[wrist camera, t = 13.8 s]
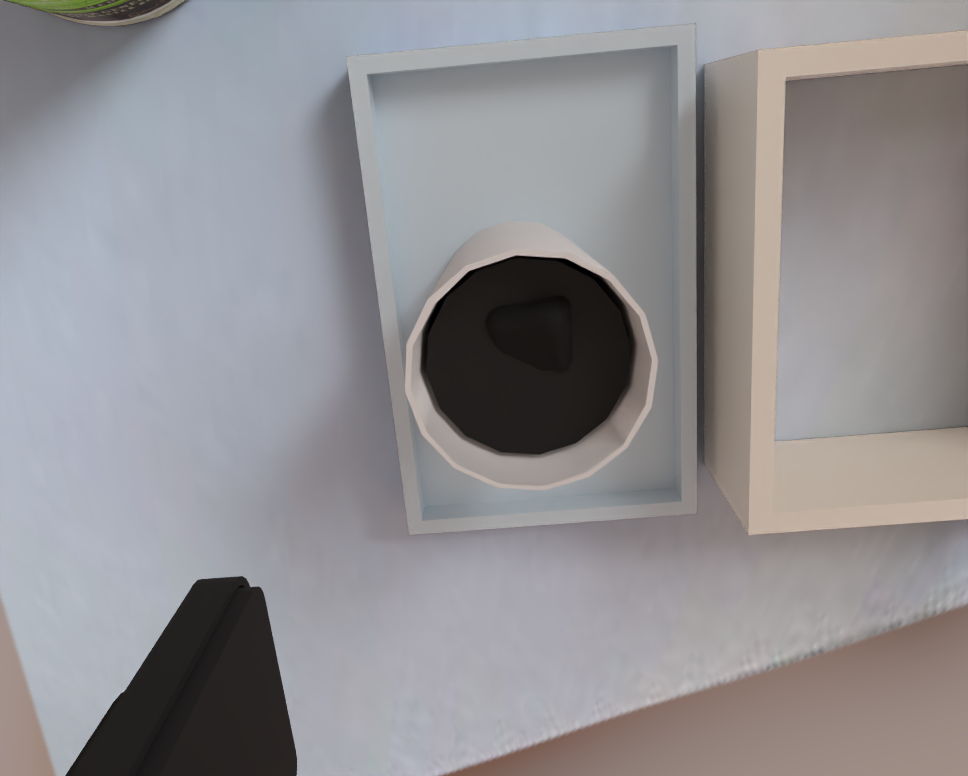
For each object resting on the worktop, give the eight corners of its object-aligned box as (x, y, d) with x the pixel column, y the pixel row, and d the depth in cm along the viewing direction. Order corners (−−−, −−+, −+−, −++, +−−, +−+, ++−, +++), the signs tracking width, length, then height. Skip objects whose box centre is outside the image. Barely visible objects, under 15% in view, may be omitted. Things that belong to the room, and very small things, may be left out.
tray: (681, 29, 28) (695, 23, 26) (685, 491, 34) (696, 513, 32) (355, 60, 28) (346, 56, 27) (413, 512, 34) (408, 535, 32)
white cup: (417, 220, 29) (383, 265, 20) (597, 196, 29) (650, 231, 20) (443, 389, 31) (424, 504, 22) (611, 369, 31) (665, 476, 22)
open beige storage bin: (1153, 22, 28) (1323, -3, 22) (1085, 435, 33) (1210, 501, 27) (704, 64, 28) (758, 49, 23) (704, 464, 33) (748, 535, 28)
